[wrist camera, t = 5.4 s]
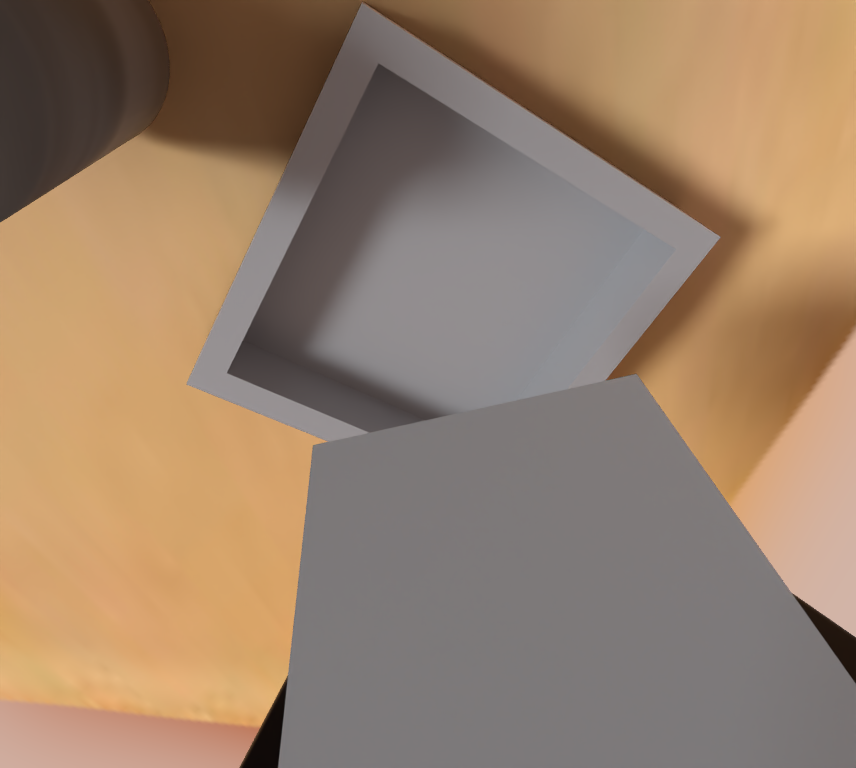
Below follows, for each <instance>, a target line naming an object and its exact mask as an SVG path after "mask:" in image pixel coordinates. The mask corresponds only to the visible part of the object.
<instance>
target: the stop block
mask: <svg viewBox="0 0 856 768" xmlns="http://www.w3.org/2000/svg"><path fill="white" fill-rule="evenodd" d="M278 768H856V683H855V682H854V681H853V679H852V678H851V676H850V675H849V674H848V672H847V671H846V669H845V668H844V667H843V665H842V664H841V662H840V661H839V659H838V658H837V657H836V655H835V654H834V652H833V651H832V650H831V648H830V647H829V645H828V644H827V642H826V641H825V640H824V638H823V637H822V635H821V634H820V633H819V631H818V630H817V628H816V627H815V626H814V624H813V623H812V621H811V620H810V618H809V617H808V616H807V614H806V613H805V611H804V610H803V609H802V607H801V606H800V604H799V603H798V601H797V600H796V599H795V597H794V596H793V594H792V593H791V592H790V590H789V589H788V587H787V586H786V585H785V583H784V582H783V580H782V579H781V577H780V576H779V575H778V573H777V572H776V570H775V569H774V568H773V566H772V565H771V563H770V562H769V561H768V559H767V558H766V556H765V555H764V553H763V552H762V551H761V549H760V548H759V546H758V545H757V543H756V542H755V541H754V539H753V538H752V537H751V535H750V534H749V532H748V531H747V529H746V528H745V527H744V525H743V524H742V522H741V521H740V519H739V518H738V517H737V515H736V514H735V512H734V511H733V510H732V508H731V507H730V505H729V504H728V502H727V501H726V500H725V498H724V497H723V495H722V494H721V493H720V491H719V490H718V488H717V487H716V486H715V484H714V483H713V481H712V480H711V478H710V477H709V476H708V474H707V473H706V471H705V470H704V469H703V467H702V466H701V464H700V463H699V461H698V460H697V459H696V457H695V456H694V454H693V453H692V452H691V450H690V449H689V447H688V446H687V445H686V443H685V442H684V440H683V439H682V437H681V436H680V435H679V433H678V432H677V430H676V429H675V428H674V426H673V425H672V423H671V422H670V420H669V419H668V418H667V416H666V415H665V413H664V412H663V411H662V409H661V408H660V406H659V405H658V404H657V402H656V401H655V399H654V398H653V396H652V395H651V394H650V392H649V391H648V389H647V388H646V387H645V385H644V384H643V382H642V381H641V379H640V378H639V377H638V375H637V374H634V375H629V376H625V377H620V378H615V379H611V380H606V381H602V382H597V383H593V384H588V385H584V386H579V387H575V388H570V389H566V390H561V391H557V392H552V393H548V394H543V395H538V396H534V397H529V398H525V399H520V400H516V401H511V402H507V403H502V404H498V405H493V406H489V407H484V408H480V409H475V410H471V411H466V412H461V413H457V414H452V415H448V416H443V417H439V418H434V419H430V420H425V421H421V422H416V423H412V424H407V425H403V426H398V427H394V428H389V429H384V430H380V431H375V432H371V433H366V434H362V435H357V436H353V437H348V438H344V439H339V440H335V441H330V442H326V443H321V444H317V445H313V451H312V460H311V469H310V478H309V488H308V497H307V506H306V515H305V525H304V534H303V543H302V552H301V561H300V571H299V580H298V589H297V598H296V607H295V617H294V626H293V635H292V644H291V654H290V663H289V672H288V681H287V690H286V700H285V709H284V718H283V727H282V736H281V746H280V755H279V764H278Z"/></svg>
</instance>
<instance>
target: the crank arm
mask: <svg viewBox="0 0 856 768" xmlns="http://www.w3.org/2000/svg"><path fill="white" fill-rule="evenodd" d="M169 76H170V61H169V54H168V47H167V43H166V39H165V35H164V32H163V30H162V27H161V24H160V22H159V20H158V18H157V16H156V14H155V12H154V10H153V8H152V6H151V4H150V3H149V1H148V0H0V222H2V221H3V220H5V219H7V218H8V217H10V216H11V215H13V214H14V213H16V212H18V211H19V210H21V209H22V208H24V207H25V206H27V205H29V204H30V203H32V202H33V201H35V200H36V199H38V198H39V197H41V196H43V195H44V194H46V193H47V192H49V191H50V190H52V189H54V188H55V187H57V186H58V185H60V184H61V183H63V182H65V181H66V180H68V179H69V178H71V177H72V176H74V175H76V174H77V173H79V172H80V171H82V170H83V169H85V168H86V167H88V166H90V165H91V164H93V163H94V162H96V161H97V160H99V159H101V158H102V157H104V156H105V155H107V154H108V153H110V152H112V151H113V150H115V149H116V148H118V147H119V146H121V145H122V144H124V143H126V142H127V141H129V140H130V139H132V138H133V137H135V136H137V135H138V134H140V133H141V132H142V131H143V130H144V129H146V128H147V127H148V126H149V125H150V123H151V122H152V121H153V120H154V119H155V117H156V116H157V114H158V113H159V111H160V109H161V107H162V105H163V102H164V100H165V97H166V93H167V90H168V84H169Z"/></svg>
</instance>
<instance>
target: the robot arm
mask: <svg viewBox="0 0 856 768" xmlns="http://www.w3.org/2000/svg"><path fill="white" fill-rule="evenodd" d="M793 596H794V597H795V599H796V600H797V601H798V603H799V604H800V606H801V607H802V609H803V610H804V611H805V613H806V614H807V616H808V617H809V618H810V620H811V621H812V623H813V624H814V626H815V627H816V628H817V630H818V631H819V633H820V634H821V635H822V637H823V638H824V640H825V641H826V642H827V644H828V645H829V647H830V648H831V650H832V651H833V652H834V654H835V655H836V657H837V658H838V659H839V661H840V662H841V664H842V665H843V667H844V668H845V669H846V671H847V672H848V674H849V675H850V676H851V678H852V679H853V681H854V682H855V683H856V637H854V636H853V635H851V634H850V633H849V632H847V631H846V630H844V629H843V628H841V627H840V626H838V625H837V624H836V623H834V622H833V621H831V620H830V619H828V618H827V617H826V616H824V615H823V614H821V613H820V612H818V611H817V610H816V609H814V608H813V607H811V606H810V605H808V604H807V603H805V602H804V601H803V600H801V599H800V598H798V597H797V596H795V595H794V594H793ZM287 681H288V676H287V678H286V680H285V682H284V684H283V686H282V688H281V689H280V691H279V693H278V695H277V697H276V699H275V701H274V703H273V705H272V707H271V708H270V710H269V712H268V714H267V716H266V718H265V720H264V722H263V724H262V726H261V728H260V729H259V731H258V733H257V735H256V737H255V739H254V741H253V743H252V745H251V747H250V749H249V750H248V752H247V754H246V756H245V758H244V760H243V762H242V764H241V766H240V768H278V764H279V755H280V746H281V736H282V727H283V718H284V709H285V700H286V690H287Z"/></svg>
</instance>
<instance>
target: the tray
mask: <svg viewBox="0 0 856 768" xmlns="http://www.w3.org/2000/svg"><path fill="white" fill-rule="evenodd" d="M719 239H720V236H718V235H717V234H715V233H714V232H713V231H711V230H710V229H708V228H707V227H705V226H704V225H702V224H701V223H700V222H698V221H697V220H695V219H694V218H692V217H691V216H689V215H688V214H686V213H685V212H684V211H682V210H681V209H679V208H678V207H676V206H675V205H673V204H672V203H670V202H669V201H667V200H665V199H664V198H662V197H661V196H659V195H658V194H656V193H655V192H653V191H652V190H650V189H649V188H647V187H646V186H644V185H643V184H641V183H639V182H638V181H636V180H635V179H633V178H632V177H630V176H629V175H627V174H626V173H624V172H623V171H621V170H620V169H618V168H617V167H615V166H613V165H612V164H610V163H609V162H607V161H606V160H604V159H603V158H601V157H600V156H598V155H597V154H595V153H594V152H592V151H591V150H589V149H587V148H586V147H584V146H583V145H581V144H580V143H578V142H577V141H575V140H574V139H572V138H571V137H569V136H568V135H566V134H565V133H563V132H561V131H560V130H558V129H557V128H555V127H554V126H552V125H551V124H549V123H548V122H546V121H545V120H543V119H542V118H540V117H539V116H537V115H535V114H534V113H532V112H531V111H529V110H528V109H526V108H525V107H523V106H522V105H520V104H519V103H517V102H516V101H514V100H513V99H511V98H509V97H508V96H506V95H505V94H503V93H502V92H500V91H499V90H497V89H496V88H494V87H493V86H491V85H490V84H488V83H487V82H485V81H483V80H482V79H480V78H479V77H477V76H476V75H474V74H473V73H471V72H470V71H468V70H467V69H465V68H464V67H462V66H461V65H459V64H457V63H456V62H454V61H453V60H451V59H450V58H448V57H447V56H445V55H444V54H442V53H441V52H439V51H438V50H436V49H435V48H433V47H431V46H430V45H428V44H427V43H425V42H424V41H422V40H421V39H419V38H418V37H416V36H415V35H413V34H412V33H410V32H409V31H407V30H405V29H404V28H402V27H401V26H399V25H398V24H396V23H395V22H393V21H392V20H390V19H389V18H387V17H386V16H384V15H383V14H381V13H379V12H378V11H376V10H375V9H373V8H372V7H370V6H369V5H367V4H366V3H364V2H363V1H362V3H361V5H360V8H359V10H358V12H357V14H356V16H355V18H354V21H353V23H352V25H351V27H350V29H349V31H348V34H347V36H346V38H345V40H344V42H343V44H342V47H341V49H340V51H339V53H338V55H337V57H336V60H335V62H334V64H333V66H332V68H331V70H330V73H329V75H328V77H327V79H326V81H325V84H324V86H323V88H322V90H321V92H320V94H319V97H318V99H317V101H316V103H315V105H314V107H313V110H312V112H311V114H310V116H309V118H308V120H307V123H306V125H305V127H304V129H303V131H302V133H301V136H300V138H299V140H298V142H297V144H296V146H295V149H294V151H293V153H292V155H291V157H290V159H289V162H288V164H287V166H286V168H285V170H284V172H283V175H282V177H281V179H280V181H279V183H278V185H277V188H276V190H275V192H274V194H273V196H272V199H271V201H270V203H269V205H268V207H267V209H266V212H265V214H264V216H263V218H262V220H261V222H260V225H259V227H258V229H257V231H256V233H255V235H254V238H253V240H252V242H251V244H250V246H249V248H248V251H247V253H246V255H245V257H244V259H243V261H242V264H241V266H240V268H239V270H238V272H237V274H236V277H235V279H234V281H233V283H232V285H231V287H230V290H229V292H228V294H227V296H226V298H225V301H224V303H223V305H222V307H221V309H220V311H219V314H218V316H217V318H216V320H215V322H214V324H213V327H212V329H211V331H210V333H209V335H208V337H207V340H206V342H205V344H204V346H203V348H202V351H201V353H200V355H199V357H198V359H197V362H196V364H195V366H194V368H193V371H192V373H191V375H190V377H189V379H188V382H187V385H189V386H192V387H194V388H197V389H199V390H202V391H204V392H207V393H209V394H212V395H214V396H217V397H219V398H222V399H224V400H227V401H229V402H231V403H234V404H236V405H239V406H241V407H244V408H246V409H249V410H251V411H254V412H256V413H259V414H261V415H264V416H266V417H269V418H271V419H274V420H276V421H279V422H281V423H284V424H286V425H289V426H291V427H294V428H296V429H299V430H301V431H304V432H306V433H309V434H311V435H313V436H316V437H318V438H321V439H323V440H326V441H328V442H330V441H335V440H339V439H344V438H348V437H353V436H357V435H362V434H366V433H371V432H375V431H380V430H384V429H389V428H394V427H398V426H403V425H407V424H412V423H416V422H421V421H425V420H430V419H434V418H439V417H443V416H448V415H452V414H457V413H461V412H466V411H471V410H475V409H480V408H484V407H489V406H493V405H498V404H502V403H507V402H511V401H516V400H520V399H525V398H529V397H534V396H538V395H543V394H548V393H552V392H557V391H561V390H566V389H570V388H575V387H579V386H584V385H588V384H593V383H597V382H602V381H605V380H606V379H607V378H608V377H609V375H610V374H611V373H612V372H613V370H614V369H615V368H616V367H617V365H618V364H619V363H620V362H621V360H622V359H623V358H624V357H625V355H626V354H627V353H628V352H629V350H630V349H631V348H632V347H633V345H634V344H635V343H636V342H637V341H638V339H639V338H640V337H641V336H642V334H643V333H644V332H645V331H646V329H647V328H648V327H649V326H650V324H651V323H652V322H653V321H654V319H655V318H656V317H657V316H658V314H659V313H660V312H661V311H662V309H663V308H664V307H665V306H666V304H667V303H668V302H669V301H670V299H671V298H672V297H673V296H674V295H675V293H676V292H677V291H678V290H679V288H680V287H681V286H682V285H683V283H684V282H685V281H686V280H687V278H688V277H689V276H690V275H691V273H692V272H693V271H694V270H695V268H696V267H697V266H698V265H699V263H700V262H701V261H702V260H703V258H704V257H705V256H706V255H707V253H708V252H709V251H710V250H711V249H712V247H713V246H714V245H715V244H716V242H717V241H718V240H719Z"/></svg>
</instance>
